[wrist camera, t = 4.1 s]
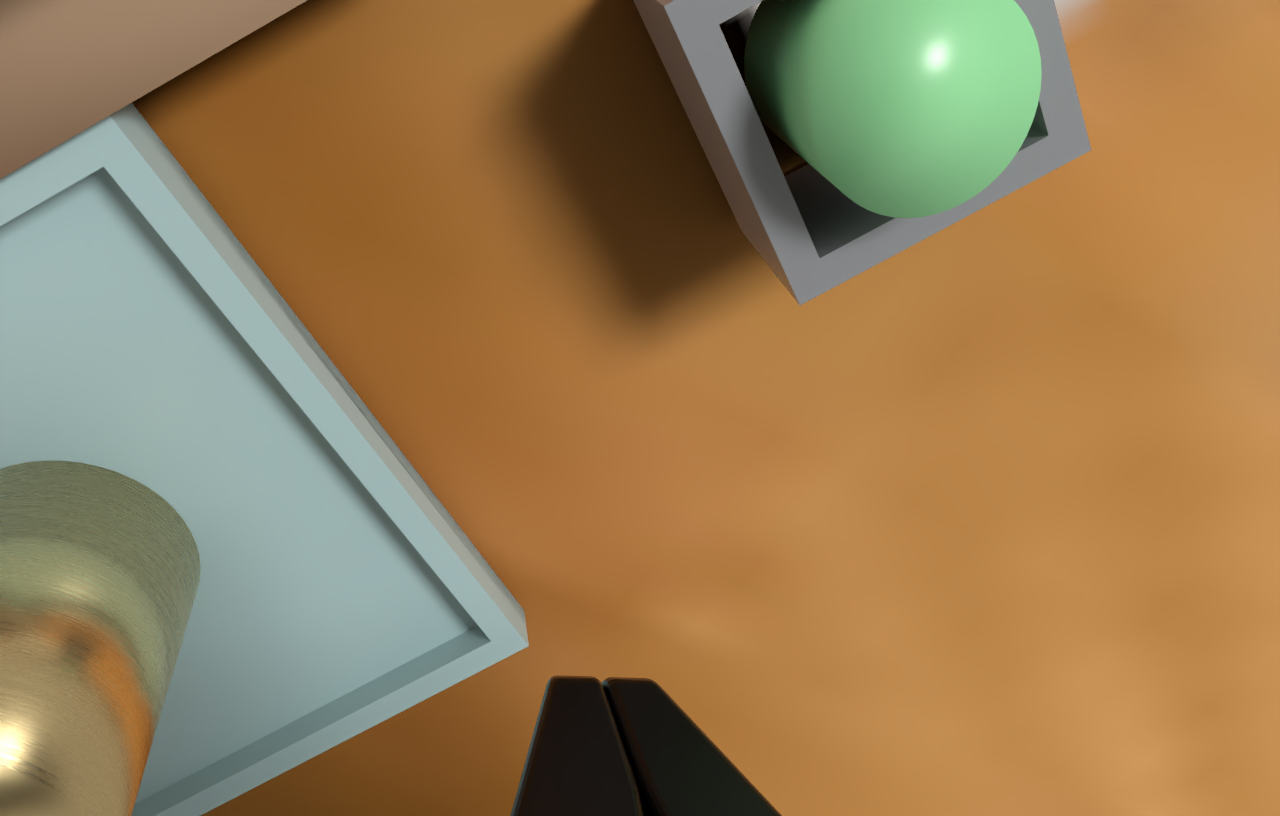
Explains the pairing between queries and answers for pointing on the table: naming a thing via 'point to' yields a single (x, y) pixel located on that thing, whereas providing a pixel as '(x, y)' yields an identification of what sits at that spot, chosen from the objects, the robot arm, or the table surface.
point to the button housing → (805, 200)
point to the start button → (897, 94)
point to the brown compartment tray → (102, 59)
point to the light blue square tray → (230, 469)
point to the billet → (85, 634)
